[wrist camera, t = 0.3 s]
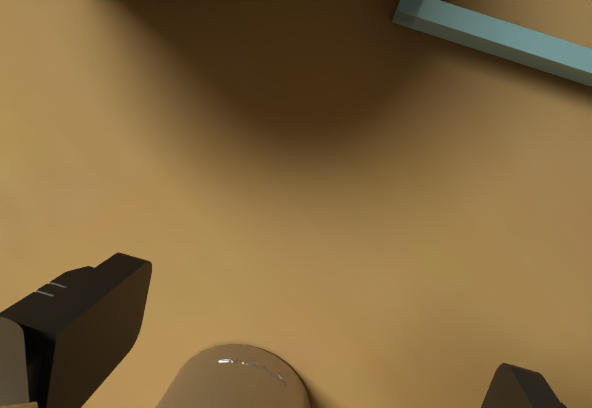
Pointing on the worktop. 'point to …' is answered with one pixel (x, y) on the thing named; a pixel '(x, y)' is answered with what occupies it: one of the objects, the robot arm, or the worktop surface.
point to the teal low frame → (497, 38)
